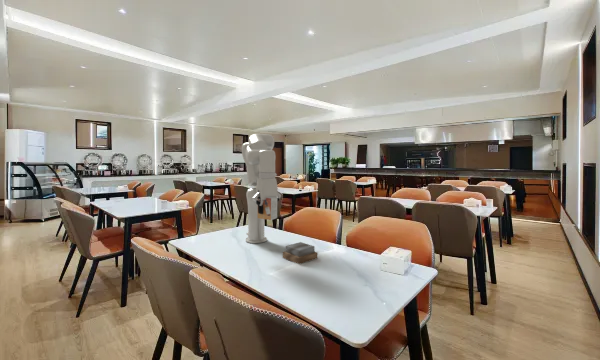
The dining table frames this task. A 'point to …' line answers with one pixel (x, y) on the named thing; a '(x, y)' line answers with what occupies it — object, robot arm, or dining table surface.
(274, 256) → the dining table surface
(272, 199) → the small box
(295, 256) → the tower base
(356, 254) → the dining table surface
